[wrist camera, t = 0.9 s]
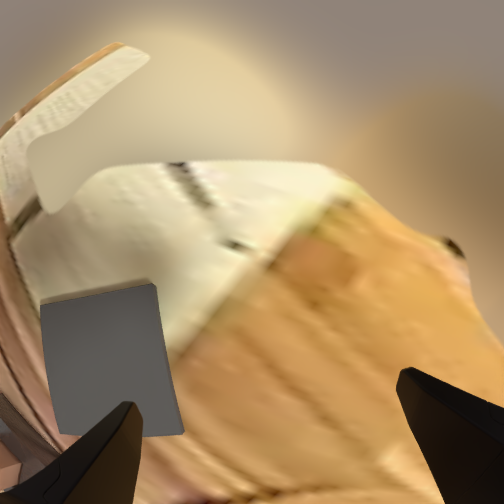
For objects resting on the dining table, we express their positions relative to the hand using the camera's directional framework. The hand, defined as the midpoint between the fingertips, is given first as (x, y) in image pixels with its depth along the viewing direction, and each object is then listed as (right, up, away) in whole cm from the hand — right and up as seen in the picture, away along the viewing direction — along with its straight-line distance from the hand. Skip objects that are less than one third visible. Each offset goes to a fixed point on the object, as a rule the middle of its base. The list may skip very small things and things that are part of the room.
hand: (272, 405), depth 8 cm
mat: (-14, -5, +14) cm, 20 cm away
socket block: (-27, -18, +9) cm, 34 cm away
